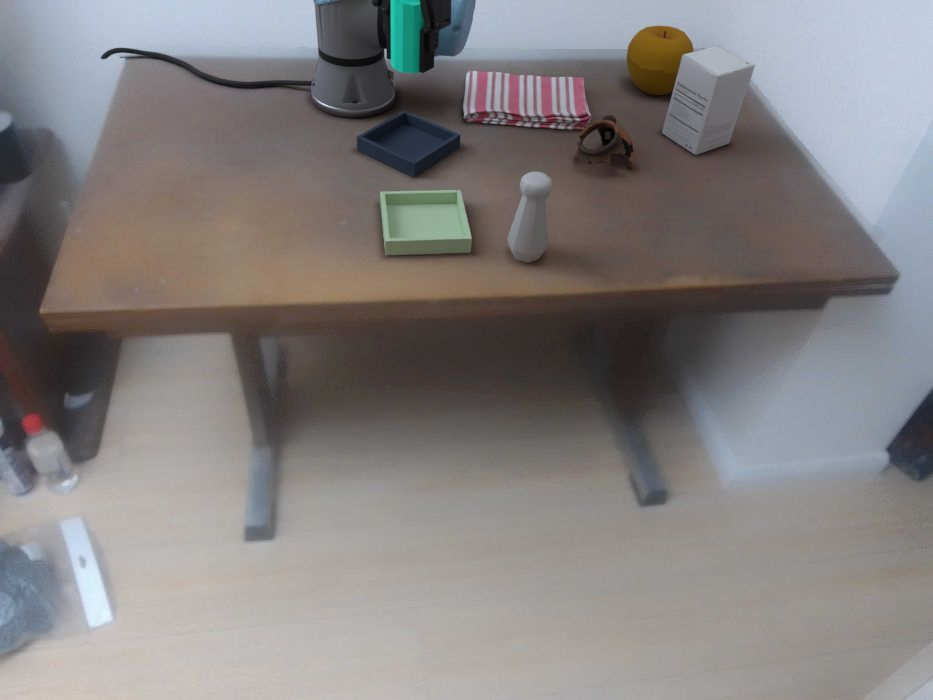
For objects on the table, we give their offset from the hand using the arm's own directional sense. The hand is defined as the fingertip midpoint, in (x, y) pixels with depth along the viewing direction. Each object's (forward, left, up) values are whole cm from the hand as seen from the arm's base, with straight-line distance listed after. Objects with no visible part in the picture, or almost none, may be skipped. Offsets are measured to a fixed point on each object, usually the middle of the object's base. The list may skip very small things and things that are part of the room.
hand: (410, 62), depth 119 cm
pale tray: (+16, -16, -15) cm, 27 cm away
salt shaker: (+31, -11, -15) cm, 36 cm away
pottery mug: (+27, +20, -15) cm, 37 cm away
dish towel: (+6, +27, -15) cm, 32 cm away
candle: (0, 0, -1) cm, 1 cm away
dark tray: (0, 0, -15) cm, 15 cm away
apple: (+21, +51, -15) cm, 57 cm away
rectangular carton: (+36, +38, -15) cm, 55 cm away
